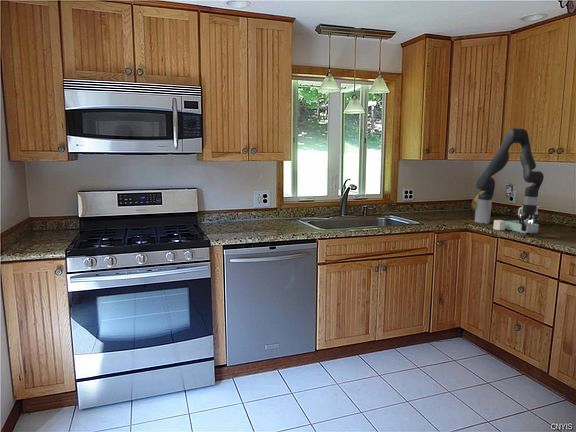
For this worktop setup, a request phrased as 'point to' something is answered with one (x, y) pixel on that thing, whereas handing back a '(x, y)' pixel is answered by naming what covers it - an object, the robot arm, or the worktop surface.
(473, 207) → the ceramic jug
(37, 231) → the worktop surface
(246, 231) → the worktop surface
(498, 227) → the cream box
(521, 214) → the pitcher
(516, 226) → the tote
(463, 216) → the worktop surface
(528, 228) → the steel block
